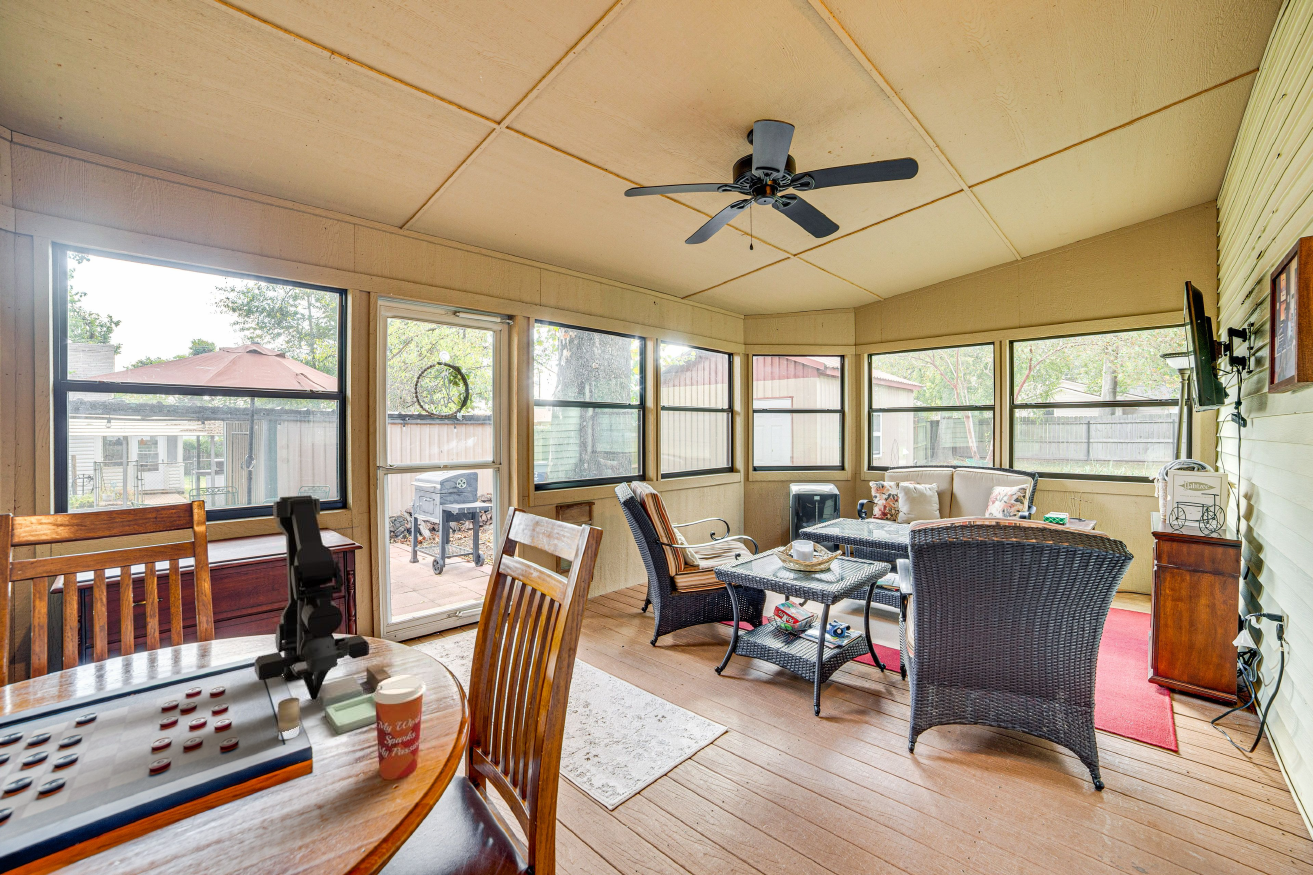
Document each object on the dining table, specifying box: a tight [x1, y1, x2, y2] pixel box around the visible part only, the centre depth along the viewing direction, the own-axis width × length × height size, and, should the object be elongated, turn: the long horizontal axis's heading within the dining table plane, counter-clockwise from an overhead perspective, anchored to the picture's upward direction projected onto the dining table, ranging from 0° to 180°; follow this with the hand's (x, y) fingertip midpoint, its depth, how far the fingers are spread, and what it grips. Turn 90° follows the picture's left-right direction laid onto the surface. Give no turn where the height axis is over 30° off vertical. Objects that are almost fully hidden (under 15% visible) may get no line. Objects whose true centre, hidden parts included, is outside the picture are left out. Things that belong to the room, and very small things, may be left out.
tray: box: [324, 692, 376, 735], centre depth 107 cm, size 9×9×2 cm
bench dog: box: [365, 663, 392, 692], centre depth 120 cm, size 8×2×3 cm, turn 44°
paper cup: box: [373, 674, 427, 781], centre depth 91 cm, size 8×8×14 cm
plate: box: [316, 676, 364, 711], centre depth 114 cm, size 7×7×2 cm
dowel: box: [277, 697, 301, 733], centre depth 100 cm, size 3×3×6 cm
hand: (313, 698), depth 111 cm, fingers closed
